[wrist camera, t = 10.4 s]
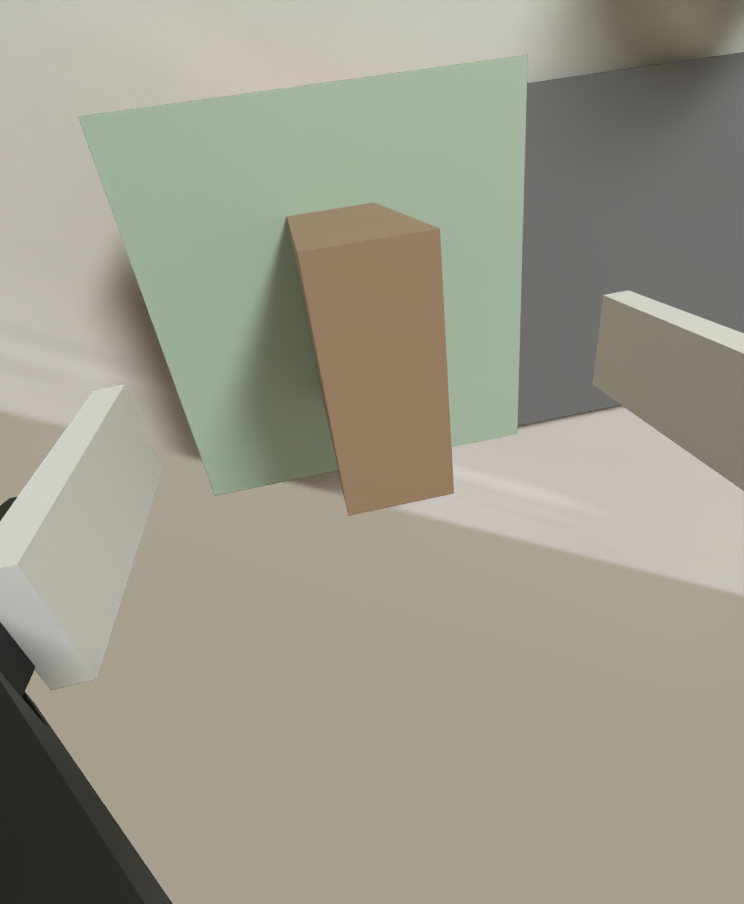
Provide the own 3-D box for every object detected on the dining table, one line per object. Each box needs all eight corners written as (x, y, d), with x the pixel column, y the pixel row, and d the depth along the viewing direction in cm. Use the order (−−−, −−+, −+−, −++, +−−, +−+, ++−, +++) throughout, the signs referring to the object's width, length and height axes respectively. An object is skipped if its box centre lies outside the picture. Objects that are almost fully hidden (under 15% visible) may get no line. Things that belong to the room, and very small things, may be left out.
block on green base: (86, 118, 18) (-82, 79, 9) (515, 59, 19) (714, -22, 11) (216, 484, 26) (190, 641, 18) (509, 425, 27) (617, 544, 19)
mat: (494, 88, 25) (499, 87, 24) (841, 39, 26) (852, 36, 26) (494, 426, 34) (497, 430, 34) (746, 374, 36) (753, 378, 36)
